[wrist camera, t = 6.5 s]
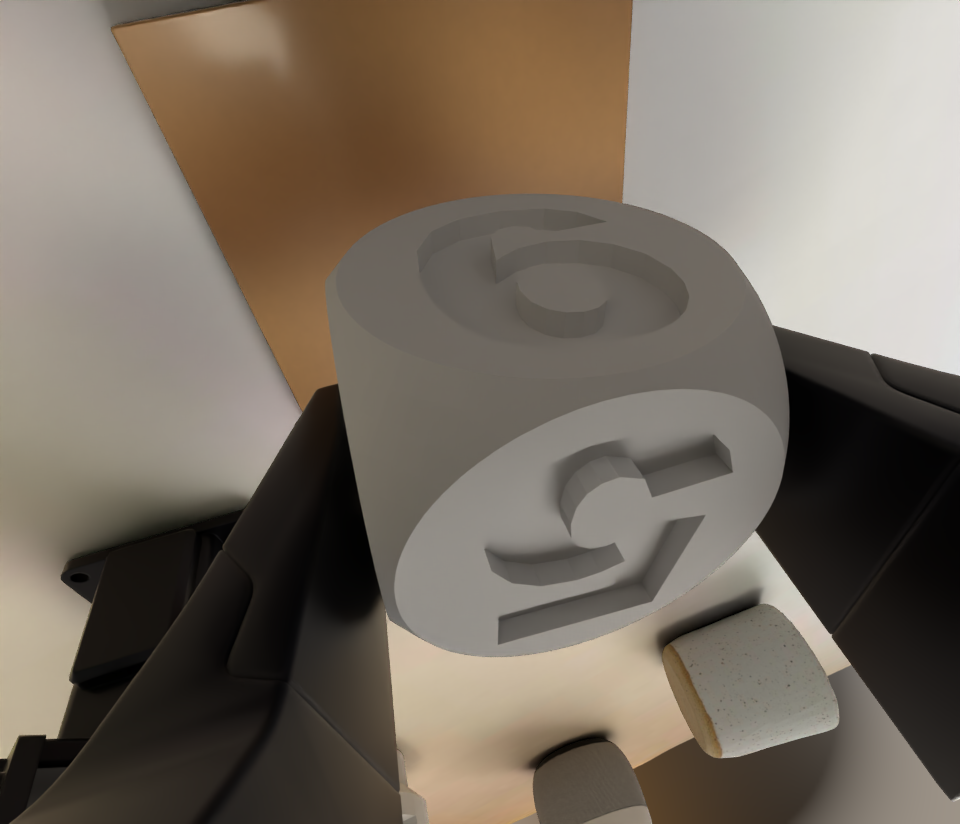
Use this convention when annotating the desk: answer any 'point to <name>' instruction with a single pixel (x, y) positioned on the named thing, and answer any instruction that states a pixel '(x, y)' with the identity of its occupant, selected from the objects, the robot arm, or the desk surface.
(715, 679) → the ceramic mug
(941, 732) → the robot arm
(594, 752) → the smart speaker
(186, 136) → the coaster
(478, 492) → the die
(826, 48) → the desk surface
